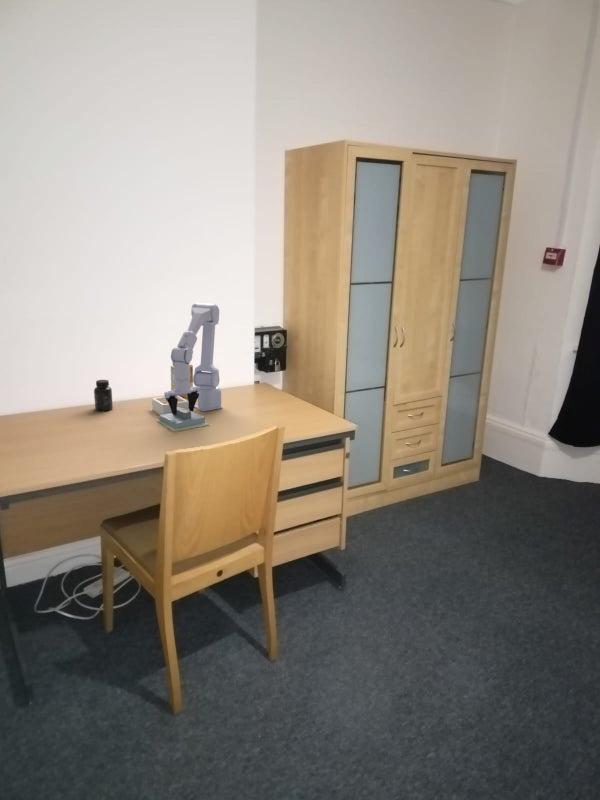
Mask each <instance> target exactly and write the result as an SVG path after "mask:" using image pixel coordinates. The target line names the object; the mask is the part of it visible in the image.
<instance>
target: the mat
mask: <svg viewBox="0 0 600 800" xmlns="http://www.w3.org/2000/svg"><path fill="white" fill-rule="evenodd" d="M156 422H158V423H159V422H160V424H161V425H162V424H163V427H165V428H167V429H169V430H170V431H171V430H172V432H173V433H175V431H176V432H180V431H181V432H182V431H186V430H191V428H192V429H197V428H196V427H198V428H203V427H207V426H208V427H209V426H210V423H208V422H206V421H205V423H201V424H197V425H193V426H189V427H184V428H180V429H176V428H174V427H172V426H169V425H167V424H165V423H163V422H161V421H160V418H159V419H156ZM202 426H203V427H202Z"/></svg>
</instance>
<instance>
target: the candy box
mask: <svg viewBox="0 0 600 800" xmlns="http://www.w3.org/2000/svg"><path fill="white" fill-rule="evenodd" d="M193 370H194V367H193V365H192V364H190V387H194V383H193V376H194V373H193V372H194V371H193ZM174 389H175V378H174V367H173V365H170V391H171V390H174ZM179 396H180V397H182V398H183V399H185V400H188V396H187V394H184V395H179Z"/></svg>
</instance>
